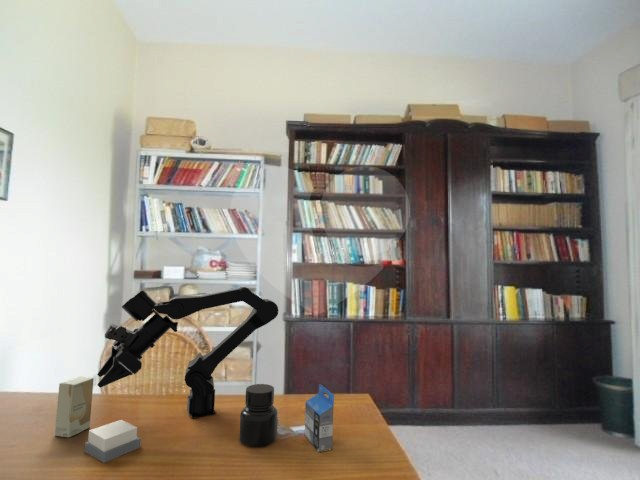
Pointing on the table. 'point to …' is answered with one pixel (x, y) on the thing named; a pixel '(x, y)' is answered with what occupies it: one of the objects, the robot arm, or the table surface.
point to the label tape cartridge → (320, 419)
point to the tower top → (112, 435)
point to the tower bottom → (112, 450)
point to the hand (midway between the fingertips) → (98, 380)
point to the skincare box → (74, 406)
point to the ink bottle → (258, 417)
